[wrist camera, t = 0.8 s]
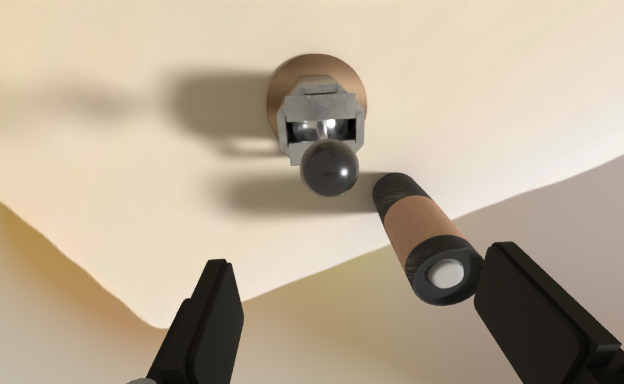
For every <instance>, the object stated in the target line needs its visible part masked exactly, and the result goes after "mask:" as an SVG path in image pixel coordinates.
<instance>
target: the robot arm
mask: <svg viewBox="0 0 624 384" xmlns="http://www.w3.org/2000/svg"><path fill="white" fill-rule="evenodd" d="M474 306H475V309H476V311H477V312H478V314H479V316H480V317H481V319H482V320H483V322H484V323H485V325H486V326H487V328H488V329H489V331H490V333H491V334H492V336H493V337H494V339H495V340H496V342H497V343H498V345H499V347H500V348H501V350H502V351H503V353H504V354H505V356H506V357H507V359H508V360H509V362H510V364H511V365H512V367H513V368H514V370H515V371H516V373H517V374H518V376H519V378H520V379H521V381H522V382H523V384H624V351H623V350H622V349H621V348H620V346H621V345H622V344H621V343H620V342H619V341H618V340H617V339H616V338H615V337H614V336H613V335H612V334H611V333H610V332H609V331H608V330H607V329H605V328H604V327H603V326H602V325H601V324H600V323H599V322H598V321H597V320H596V319H595V318H594V317H593V316H592V315H591V314H590V313H588V312H587V311H586V310H585V309H584V308H583V307H582V306H581V305H580V304H579V303H578V302H577V301H576V300H575V299H574V298H573V297H571V296H570V295H569V294H568V293H567V292H566V291H565V290H564V289H563V288H562V287H561V286H560V285H559V284H558V283H557V282H556V281H555V280H553V279H552V278H551V277H550V276H549V275H548V274H547V273H546V272H545V271H544V270H543V269H542V268H541V267H540V266H539V265H537V264H536V263H535V262H534V261H533V260H532V259H531V258H530V257H529V256H528V255H527V254H526V253H525V252H524V251H523V250H522V249H521V248H519V247H518V246H517V245H516V244H515V243H514V242H495V243H493V244H492V246H491V247H489V248H488V249H487V252H486V256H485V260H484V263H483V267H482V271H481V275H480V278H479V282H478V286H477V290H476V293H475V297H474ZM243 322H244V314H243V309H242V305H241V301H240V297H239V293H238V288H237V284H236V280H235V276H234V272H233V268H232V264H231V263H227V261H226V260H225V259H213V260H208V262H207V264H206V266H205V268H204V270H203V272H202V275H201V277H200V279H199V281H198V283H197V285H196V288H195V290H194V292H193V294H192V296H191V298H187V299H185V300H184V301H183V302H182V304H181V306H180V308H179V310H178V312H177V314H176V316H175V318H174V320H173V322H172V324H171V327H170V329H169V331H168V333H167V335H166V337H165V339H164V341H163V343H162V345H161V347H160V349H159V351H158V353H157V355H156V358H155V360H154V362H153V364H152V366H151V368H150V370H149V372H148V374H147V376H146V378H140V379H137V380H133V381H131V382H129V383H127V384H230V380H231V375H232V372H233V367H234V362H235V358H236V354H237V349H238V345H239V341H240V336H241V332H242V327H243Z"/></svg>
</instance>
